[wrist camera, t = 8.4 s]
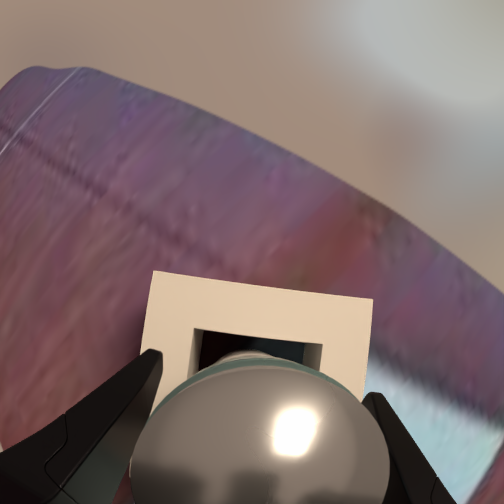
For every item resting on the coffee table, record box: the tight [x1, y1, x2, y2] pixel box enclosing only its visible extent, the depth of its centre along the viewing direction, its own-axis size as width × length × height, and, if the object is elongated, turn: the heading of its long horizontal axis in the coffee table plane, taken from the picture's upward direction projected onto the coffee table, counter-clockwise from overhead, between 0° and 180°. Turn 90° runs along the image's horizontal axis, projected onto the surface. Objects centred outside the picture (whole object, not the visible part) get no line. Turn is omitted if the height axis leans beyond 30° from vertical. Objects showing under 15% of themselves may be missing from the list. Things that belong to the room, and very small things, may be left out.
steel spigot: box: [130, 349, 390, 504], centre depth 10 cm, size 5×5×13 cm
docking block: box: [129, 271, 373, 477], centre depth 15 cm, size 10×10×4 cm
